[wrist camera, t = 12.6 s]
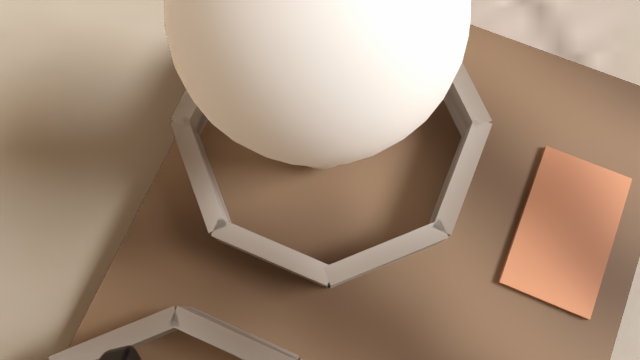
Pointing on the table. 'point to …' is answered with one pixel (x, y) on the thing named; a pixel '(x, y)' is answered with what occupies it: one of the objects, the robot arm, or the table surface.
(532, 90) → the tag board
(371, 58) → the lightbulb
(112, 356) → the robot arm
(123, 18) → the table surface
